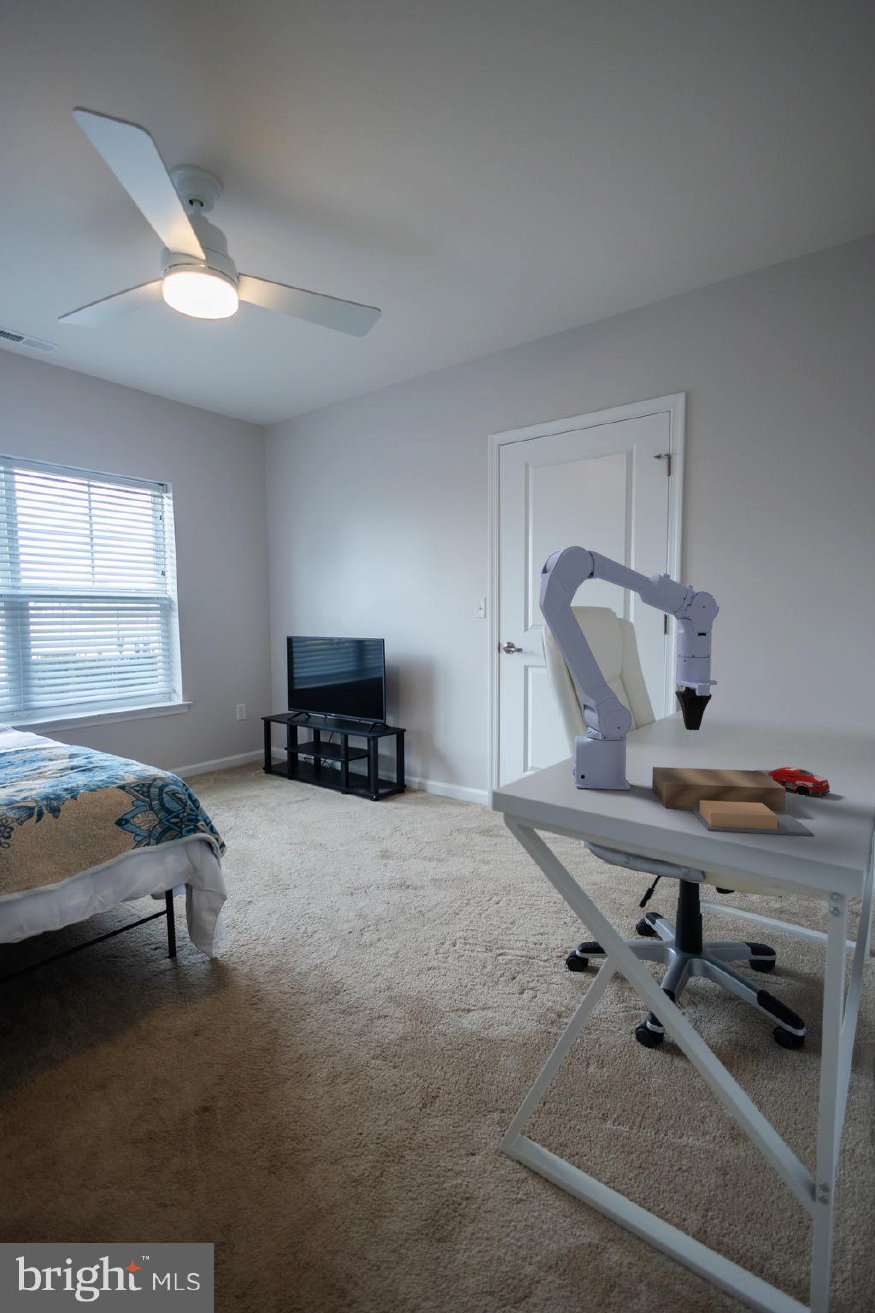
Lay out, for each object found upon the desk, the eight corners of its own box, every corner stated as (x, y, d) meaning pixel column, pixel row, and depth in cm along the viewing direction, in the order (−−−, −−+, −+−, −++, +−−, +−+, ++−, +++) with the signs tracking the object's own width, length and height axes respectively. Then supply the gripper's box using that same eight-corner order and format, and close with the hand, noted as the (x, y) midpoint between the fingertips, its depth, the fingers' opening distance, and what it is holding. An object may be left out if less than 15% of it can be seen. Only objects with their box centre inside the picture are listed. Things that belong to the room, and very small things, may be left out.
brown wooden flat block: (664, 807, 99) (665, 783, 98) (652, 789, 109) (652, 767, 109) (784, 813, 96) (785, 788, 95) (759, 793, 106) (760, 770, 106)
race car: (741, 785, 113) (742, 763, 113) (754, 780, 116) (755, 759, 116) (820, 801, 103) (821, 777, 103) (832, 795, 106) (833, 772, 106)
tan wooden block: (699, 800, 94) (699, 813, 95) (710, 812, 89) (710, 826, 89) (762, 803, 93) (761, 815, 93) (777, 815, 87) (776, 829, 87)
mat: (707, 830, 88) (707, 827, 88) (690, 809, 98) (690, 806, 98) (813, 835, 86) (813, 833, 86) (784, 813, 96) (784, 810, 96)
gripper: (729, 659, 105) (726, 737, 106) (706, 654, 119) (704, 723, 120) (686, 659, 106) (684, 736, 107) (668, 654, 120) (666, 722, 121)
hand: (692, 729), depth 113 cm, fingers closed
